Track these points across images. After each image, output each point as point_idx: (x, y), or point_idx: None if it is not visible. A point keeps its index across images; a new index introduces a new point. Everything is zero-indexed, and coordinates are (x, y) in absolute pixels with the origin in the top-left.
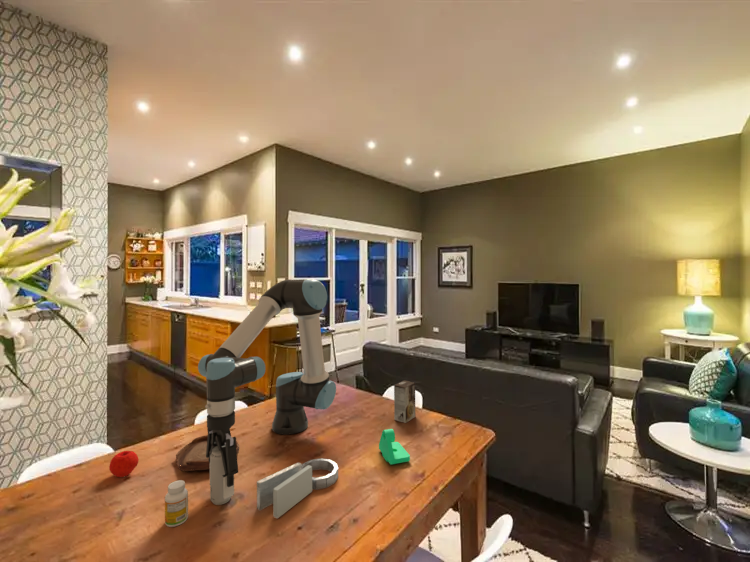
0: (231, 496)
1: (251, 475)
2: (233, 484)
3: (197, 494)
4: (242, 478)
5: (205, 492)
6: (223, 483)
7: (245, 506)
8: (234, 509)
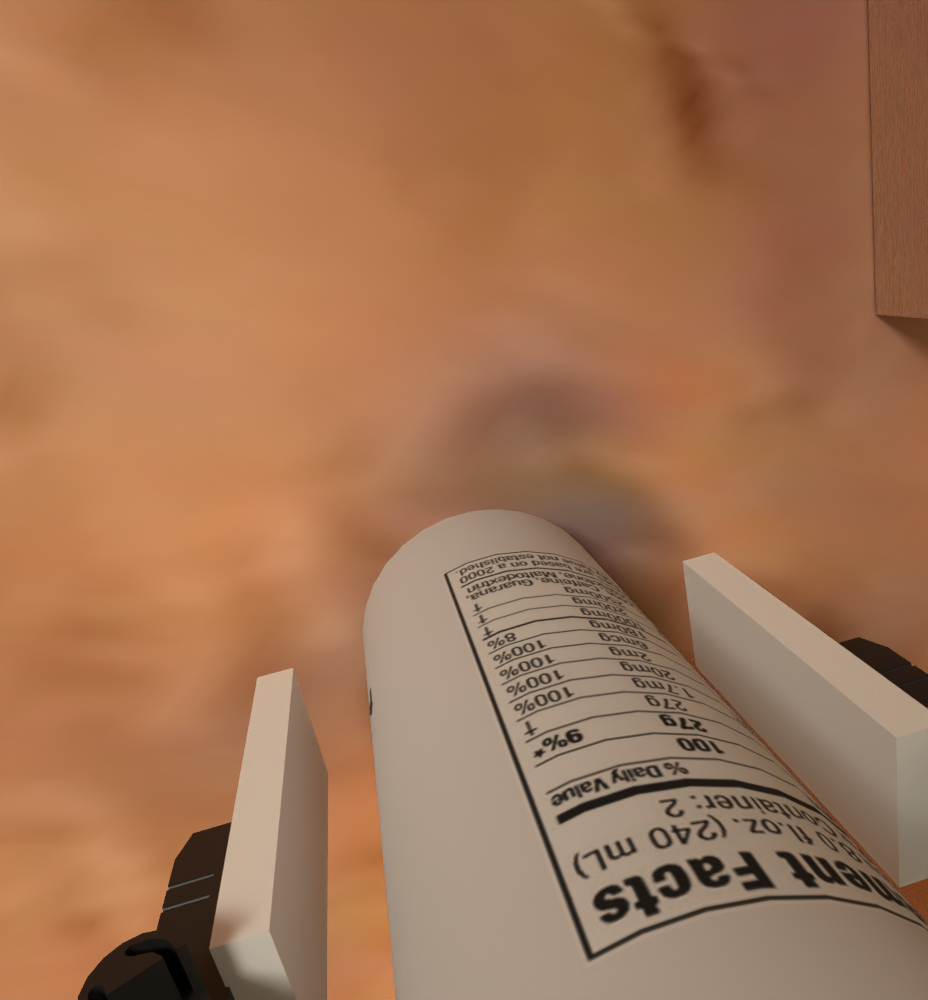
0: (569, 535)
1: (91, 139)
2: (874, 644)
3: (220, 816)
4: (115, 291)
5: (225, 744)
6: (805, 782)
7: (762, 414)
8: (733, 522)
